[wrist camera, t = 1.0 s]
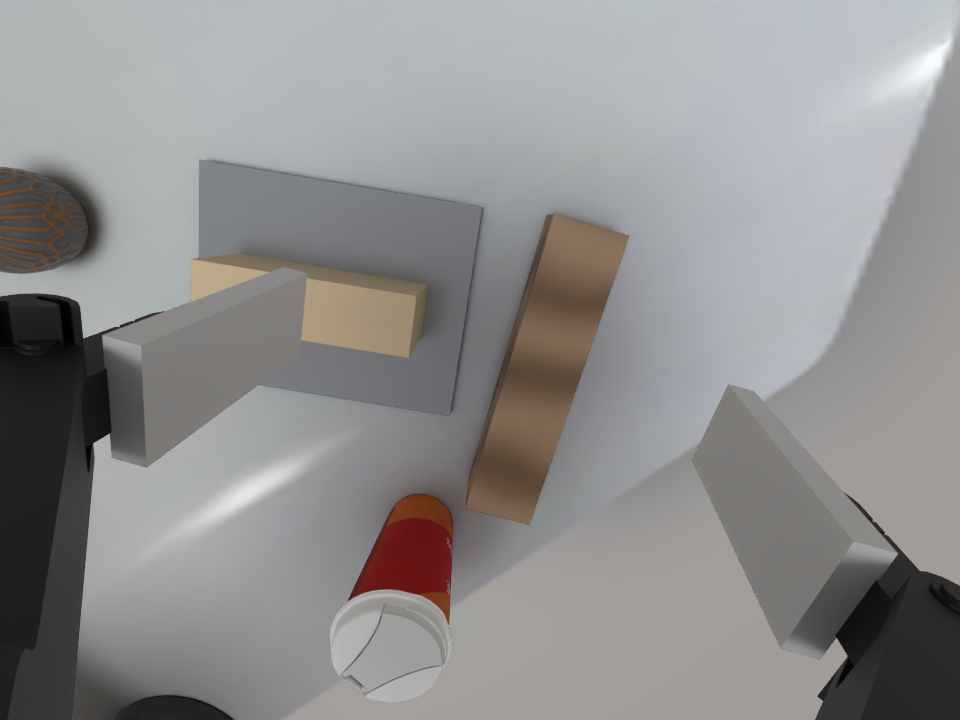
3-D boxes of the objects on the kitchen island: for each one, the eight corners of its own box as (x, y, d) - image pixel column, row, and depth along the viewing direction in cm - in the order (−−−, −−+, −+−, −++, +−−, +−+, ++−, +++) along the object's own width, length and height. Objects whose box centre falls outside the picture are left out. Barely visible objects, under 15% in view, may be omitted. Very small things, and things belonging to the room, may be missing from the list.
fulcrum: (450, 411, 40) (441, 449, 33) (205, 371, 40) (146, 402, 33) (482, 207, 36) (479, 203, 29) (207, 161, 35) (139, 146, 29)
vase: (96, 282, 38) (-17, 300, 30) (7, 246, 38) (-134, 253, 29) (115, 196, 36) (-1, 188, 28) (22, 156, 36) (-125, 136, 27)
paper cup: (420, 575, 44) (388, 728, 31) (358, 519, 43) (296, 654, 30) (484, 524, 43) (479, 663, 29) (422, 464, 41) (387, 581, 28)
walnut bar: (525, 490, 42) (529, 525, 37) (468, 475, 42) (465, 508, 37) (611, 233, 36) (629, 235, 31) (546, 215, 36) (554, 214, 31)
